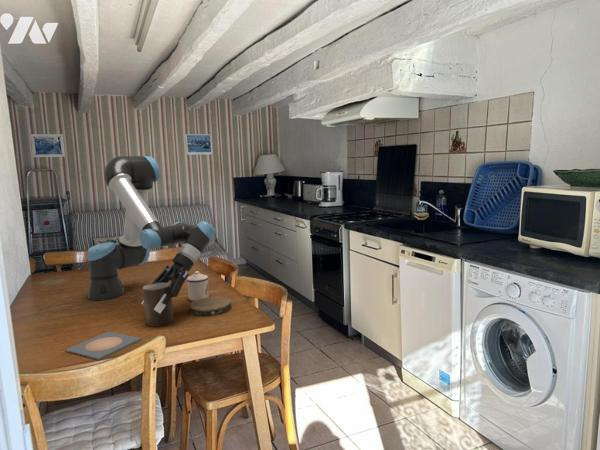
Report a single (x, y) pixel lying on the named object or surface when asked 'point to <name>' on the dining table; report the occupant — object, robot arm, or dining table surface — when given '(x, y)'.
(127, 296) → the dining table surface
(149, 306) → the pillar candle
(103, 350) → the mat
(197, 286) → the teacup with lid
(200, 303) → the wood log slice
